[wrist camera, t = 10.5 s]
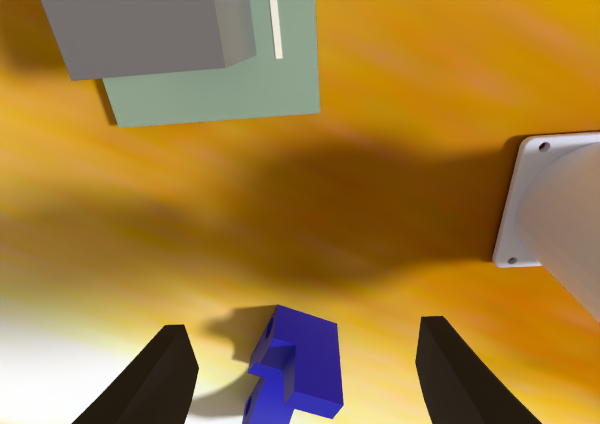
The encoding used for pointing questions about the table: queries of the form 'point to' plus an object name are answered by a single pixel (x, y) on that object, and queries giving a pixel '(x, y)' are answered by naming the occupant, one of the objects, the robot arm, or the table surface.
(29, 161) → the table surface
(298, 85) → the board
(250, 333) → the table surface
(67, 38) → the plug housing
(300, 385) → the cable clip
